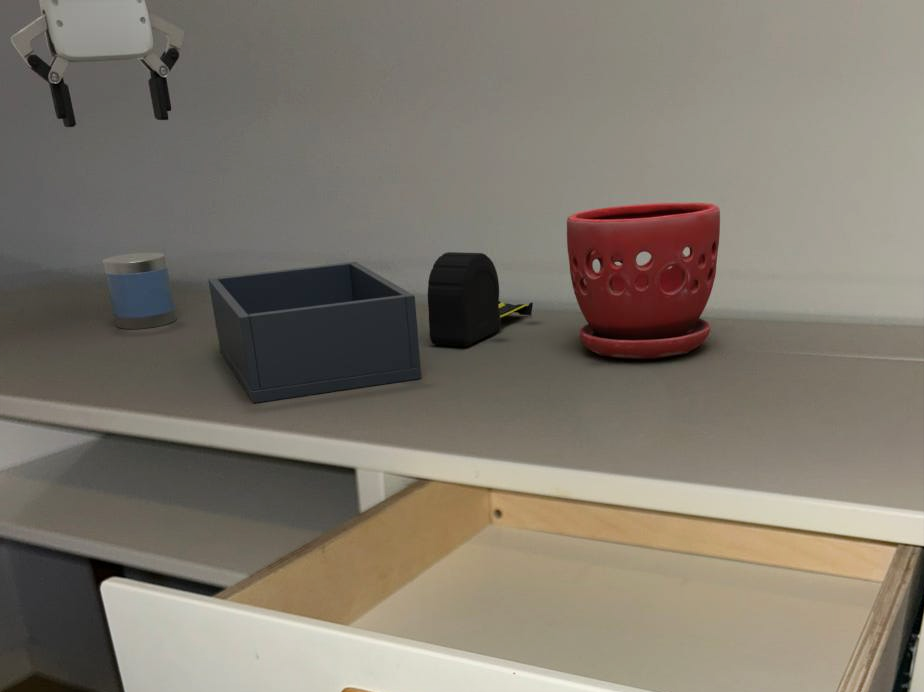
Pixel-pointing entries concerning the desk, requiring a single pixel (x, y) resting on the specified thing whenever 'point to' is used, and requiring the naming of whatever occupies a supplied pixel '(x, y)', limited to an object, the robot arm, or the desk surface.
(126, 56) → the robot arm
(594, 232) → the flower pot
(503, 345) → the desk surface
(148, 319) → the can
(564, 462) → the desk surface
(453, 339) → the tape measure
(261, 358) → the dark blue open box
